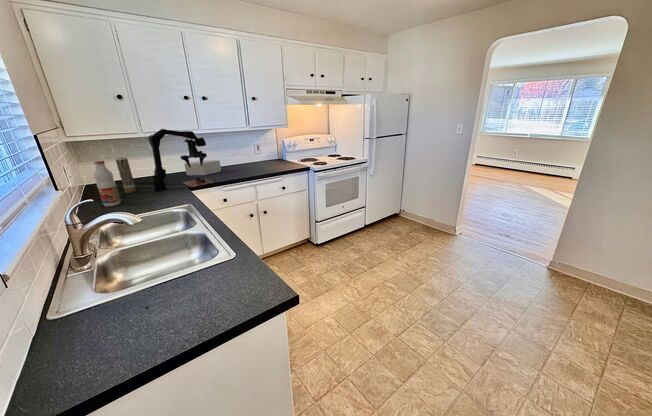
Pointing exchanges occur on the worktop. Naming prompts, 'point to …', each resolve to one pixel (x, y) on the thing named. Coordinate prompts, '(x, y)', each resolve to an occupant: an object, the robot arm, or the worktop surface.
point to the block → (203, 167)
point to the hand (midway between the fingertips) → (195, 166)
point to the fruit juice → (106, 185)
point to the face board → (197, 183)
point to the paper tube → (126, 175)
